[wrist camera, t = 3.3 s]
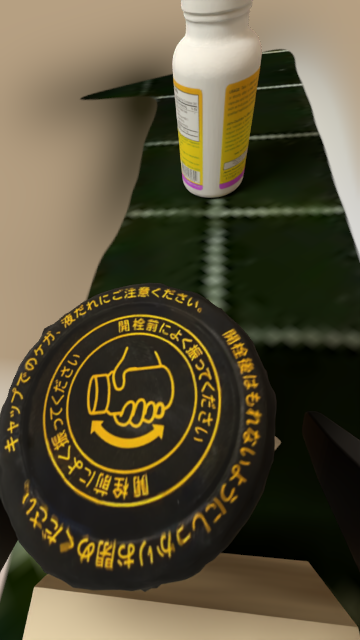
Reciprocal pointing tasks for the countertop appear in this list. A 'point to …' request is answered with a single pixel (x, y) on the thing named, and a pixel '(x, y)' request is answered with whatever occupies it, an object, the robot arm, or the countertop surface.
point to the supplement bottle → (215, 93)
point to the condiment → (136, 439)
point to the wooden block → (198, 606)
